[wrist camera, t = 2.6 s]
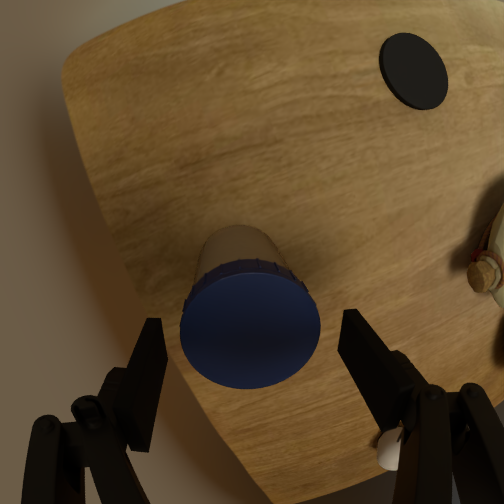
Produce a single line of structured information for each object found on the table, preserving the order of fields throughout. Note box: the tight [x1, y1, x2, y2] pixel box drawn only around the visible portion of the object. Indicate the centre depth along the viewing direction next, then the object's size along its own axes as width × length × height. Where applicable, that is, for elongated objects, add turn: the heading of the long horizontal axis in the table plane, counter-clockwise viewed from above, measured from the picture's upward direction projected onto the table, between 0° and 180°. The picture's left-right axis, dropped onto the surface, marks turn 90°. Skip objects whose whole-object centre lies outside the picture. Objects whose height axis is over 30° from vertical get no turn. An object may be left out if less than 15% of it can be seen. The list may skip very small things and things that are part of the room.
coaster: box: [379, 33, 448, 110], centre depth 22 cm, size 8×8×1 cm
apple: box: [377, 427, 403, 471], centre depth 33 cm, size 7×7×8 cm
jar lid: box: [180, 258, 321, 389], centre depth 16 cm, size 8×8×2 cm
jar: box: [193, 225, 290, 285], centre depth 21 cm, size 7×7×11 cm
